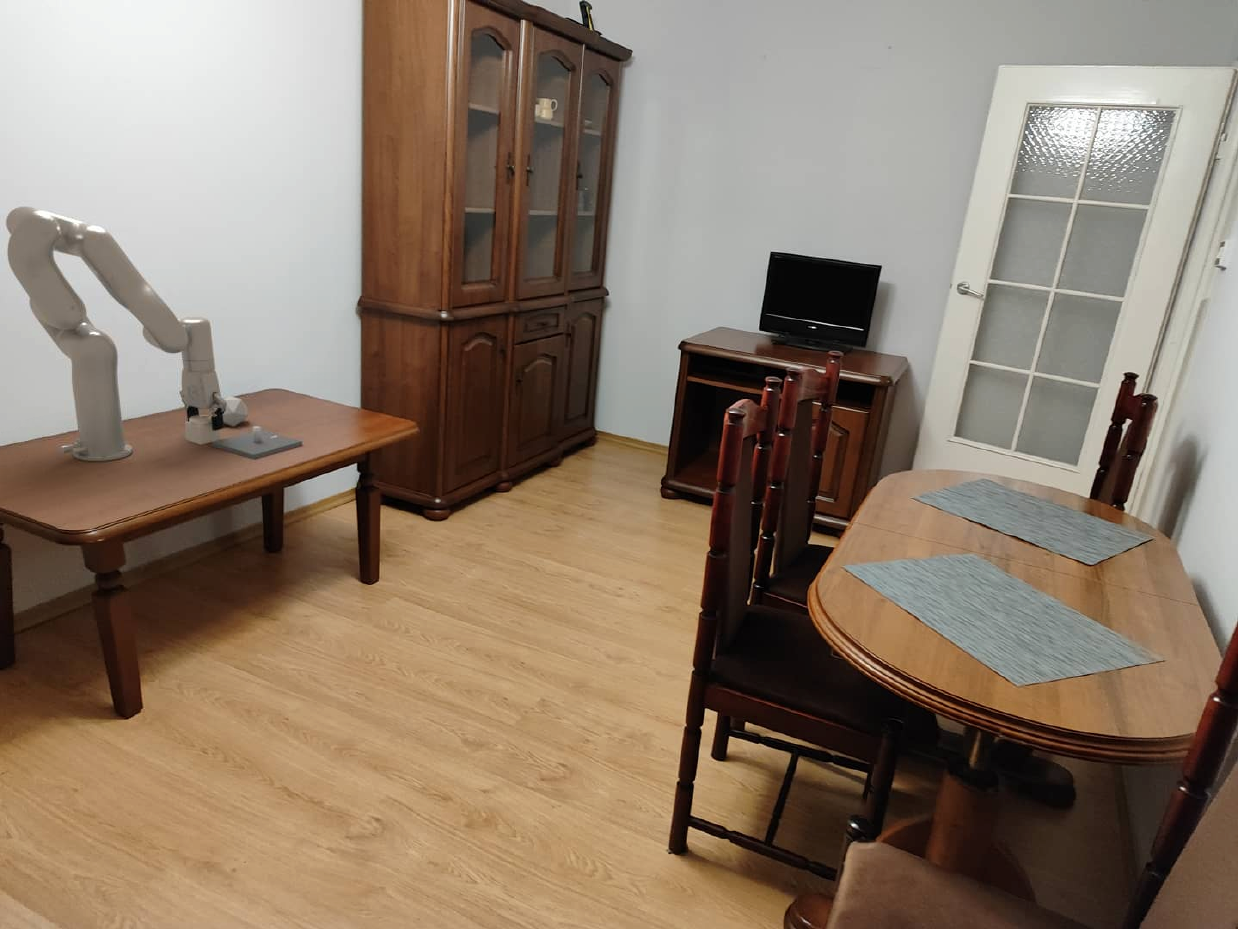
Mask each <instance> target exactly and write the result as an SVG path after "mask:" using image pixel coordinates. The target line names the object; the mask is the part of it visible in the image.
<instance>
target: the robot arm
mask: <svg viewBox="0 0 1238 929" xmlns="http://www.w3.org/2000/svg"><path fill="white" fill-rule="evenodd" d="M5 224H6V229H7V231H8V233H9V234H10V236H9V239H8V243H7V251H6V252H7V261H8V264H9V266H10V267H9V268H10V269H11V271H12V273H13V275H14V276H15V278H16V280H17V281H18V283H20V285H21V287H22V288H23V290H24V292H25V293H26V294H27V295H28V297H29V307H30V310H31V312H32V313H33V315H34V317H35V318H36V320H37V321H38V323H39V324H40V325H41V326H42V328H43V329H44V331H45V332H46V333H47V335H48V336H49V338H51V340H52V341H53V342H54V344H55V345H56V347H57V348H58V349H59V350H60V351H61V353H63V355H64V356H66V357H67V358H69V359H70V362H71V387H72V393H73V394H72V395H73V400H74V408H75V415H76V422H77V423H76V424H77V430H78V437H76V438H74V442H72V443H71V444H66V445H61V446H59V447H58V451H59V453H60V454H61V455H64V454H68V453H71V454H72V455H73V457H74V458H76V459H78V460H81V461H88V462H106V461H114V460H118V459H122V458H125V457H129V456H130V455H131V454H132V453H133V447H132V446H131V444H128V443H126V442H125V437H124V428H123V426H124V425H123V420H122V419H123V417H122V409H121V399H120V398H121V397H120V392H119V390H120V389H119V381H118V380H119V379H118V377H119V376H118V364H119V362H118V361H119V360H118V358H119V356H118V349H117V346H116V344H115V342H114V340H113V339H112V338H111V337H110V336H109V335H108V334H106V333H105V332H103V331H102V330H100V329H98V328H97V327H95V326H94V324H93V323H92V321H91V320H90V319H89V317H88V316H87V308H86V305H85V303H84V301H83V300H82V298H81V297H80V296H79V295H78V293H77V292H76V291H75V289H74V288H73V287H72V285H71V284H70V283H69V281H68V280H67V279H66V277H65V275H64V274H63V272H62V271H61V269H60V268H59V266H58V264H57V262H56V260H55V257H54V252H57V253H62V254H67V255H70V256H75V257H79V258H80V259H81V260H82V261H83V262H84V264H85V265H86V266H87V267H88V268H89V270H90V271H91V272H92V273H93V276H95V277H96V279H97V280H98V282H100V284H101V285H102V286H103V287H104V289H105V291H107V293H108V294H109V295H110V297H111V298H112V299H114V300H115V301H116V302H117V303H118V304H119V305H121V307H123V308H124V309H126V311H128V312H130V314H132V316H134V317H135V318H136V319H137V320H138V321H139V323H141V325H142V326H143V327H142V336H143V338H144V339H145V341H146V342H147V343H148V344H149V345H151V346H153V347H155V348H157V349H159V350H161V351H163V352H165V353H167V354H178V353H181V357H182V358H181V359H182V360H181V361H182V370H181V390H180V391H179V395H180V397H181V401H182V403H183V404H184V409H185V410H186V418H187V422H188V421H189V418H190V417H192V416H197V415H200V413H199V412H200V409H201V410H208V411H209V412H210V415H211V422H212V430H213V431H216V430H220V431H221V430H223V429H224V428H225V424H224V422H223V415H224V412H225V410H226V405H227V402H226V401H225V400H224V399H225V398H223V397H222V396H221V388H220V384H219V379H218V375H217V371H216V364H215V354H214V345H213V337H212V329H211V328H212V327H211V322H210V321H209V319H208V318H205V317H199V316H190V317H184V318H178V317H177V316H176V315H175V313H174V312H173V311H172V310H171V308H170V307H169V306H168V305H167V303H166V302H165V301H164V300H163V299H162V298H161V297H160V296H159V294H158V293H157V292H156V291H155V289H154V288H153V287H152V286H151V285H150V283H148V281H146V279H145V278H144V277H143V275H142V274H141V273H140V272H139V270H138V269H137V267H136V266H135V265H134V264H133V262H132V261H131V260H130V258H129V256H128V255H127V254H126V253H125V251H124V250H123V249H122V248H121V246H120V245H119V243H118V242H117V241H116V240H115V238H114V237H113V236H112V234H111V233H110V232H108V230H106V229H104V227H101V226H100V225H99V226H98V225H95V224H91V223H88V222H84V221H81V220H76V219H72V218H70V217H68V218H67V217H65V216H62V215H58V214H55V213H51V212H49V211H45V210H41V209H38V208H35V207H33V206H19V207H16V208H14V209H12V210H11V211H10V212H9V213H8V215H7V217H6V219H5ZM216 408H217V410H216Z"/></svg>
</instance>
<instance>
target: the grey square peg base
mask: <svg viewBox="0 0 1238 929" xmlns="http://www.w3.org/2000/svg"><path fill="white" fill-rule="evenodd" d="M300 446H303V441H302V440H299V439H295V438H293V437H288V436H285V435H282V434H280V433H279V434H278V433H274V432H272V431H269V430H265V429H262V427H261V426H252V431H249V432H246V433H242V434H237V435H233V436H229V437H226V438H220V440H217V441H213V442H211V447H213V448H217V449H221V450H222V451H227V452H230V453H232V454H237V455H239V456H243V457H247V458H249V459H253V460H255V459H258V458H263V457H266V456H269V455H272V454H276V453H281V452H283V451H287V450H290V449H294V448H298V447H300Z"/></svg>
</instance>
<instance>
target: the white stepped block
mask: <svg viewBox="0 0 1238 929" xmlns="http://www.w3.org/2000/svg"><path fill="white" fill-rule="evenodd" d="M211 416H212V414H208V415H207V414H199V415H197V416H192V417H190V418H189V421H188V420H187V421H185V422H184V432H185V440H186V441H188V442H191V443H194V444H198V445H200V446H201V445H205V444H208V443H212V442H213V441H217V440H221V429H220V430H216V431H213V430H212V422H211Z"/></svg>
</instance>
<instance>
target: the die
mask: <svg viewBox="0 0 1238 929" xmlns="http://www.w3.org/2000/svg"><path fill="white" fill-rule="evenodd" d="M223 399H224V400H225V401H226V402H227V405H226V410H225V412H224V415H223V422H224V425H228V426H230V427H236V426H238V425H239V424H240V423H242V422H244V420H246V419H247V418H248V417H249V412H248V408H247V405H246V404H245V402H244V401H243V400H242V399H241V398H237V397H235V396H232V395H229V396H228V397H225V398H223ZM216 410H217V408H215V411H216Z"/></svg>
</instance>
